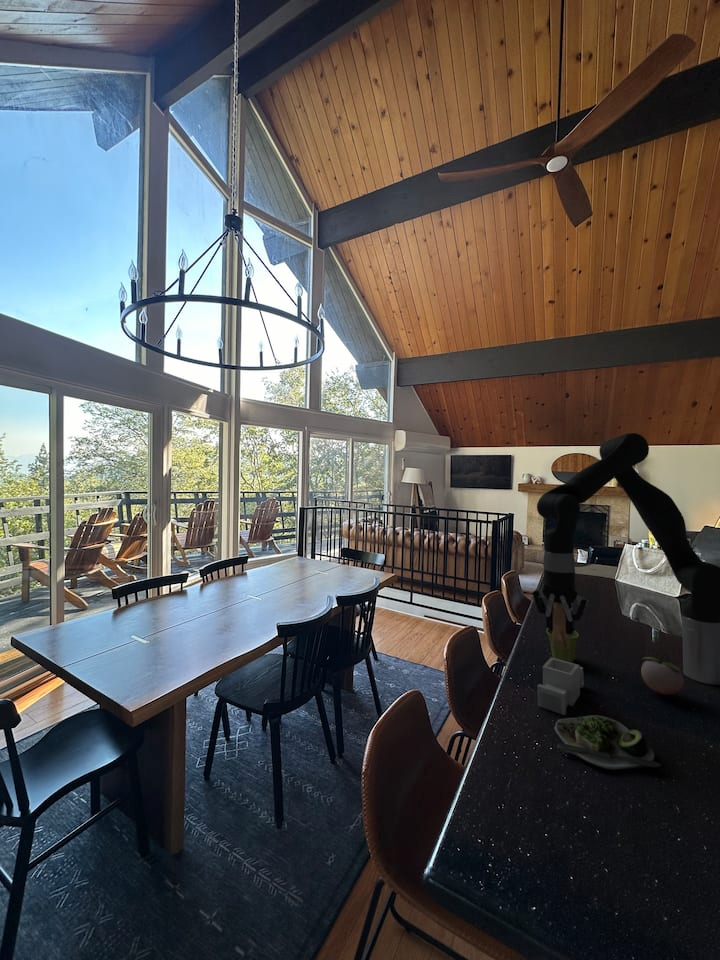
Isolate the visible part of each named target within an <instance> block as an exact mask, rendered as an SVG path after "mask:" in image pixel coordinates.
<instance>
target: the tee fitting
mask: <svg viewBox="0 0 720 960" xmlns="http://www.w3.org/2000/svg"><path fill="white" fill-rule="evenodd" d="M536 687H537V690H536V691H537V707H540V708H543V709H545V710H549V711H551V712H554V713H556V714H557V713H558V714H559V715H563V716H566V714H567V707H568V706H570V707H573V706H574V705H575V703H576V701H577V700H578V699H579V697H580V695H581V689H583V688H584V667H582V666H580V664H576V663H573V662H566V661H563V660H559V659H555V658H553V657H550V658H549V659H548V660H547V661H546V662H545V663H544V664H543V666H542V684H540V683H539V684H537V686H536Z"/></svg>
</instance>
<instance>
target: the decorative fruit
mask: <svg viewBox="0 0 720 960" xmlns="http://www.w3.org/2000/svg"><path fill="white" fill-rule="evenodd" d="M641 659H642V660H645V661H644V662H643V663H642V664H641V665H642V666H641V668H640V669H641V670H640V672H641V673H640V674H641V678H642V680H643V681H644V683H645V684H646V686H647V687H648V688H650V689H651V690H653V691H655V692H656V693H658V694H660V695H661V696H663V695H667V696H669V695H674V694H677V693H678V692H680V690H682V688H683V686H684V684H685V683H684V682H685V680H684V676H683V675H684V673H683V670H681V669H680V668H679V667H678V666H676V664H674V663H671V662H668V661H667V662H666V661H663V657H662V656H661V657H660V659H658V658H656V657H652V656H645V657H643V658H641Z"/></svg>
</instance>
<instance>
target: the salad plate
mask: <svg viewBox="0 0 720 960" xmlns="http://www.w3.org/2000/svg"><path fill="white" fill-rule="evenodd" d="M553 729H554V732H555V733H556V734H557V736H558V738H559V739H560V740H561V741H562V742H559V743H557V748H558V750H561V751H563V752H567V753H570V754H572V755H574V756H575V757H577V758H580V759H582V760H584V761H585V762H587V763H589V764H591V765H593V766H597V767H599V768H601V769H605V770H614V771H616V770H625V769H626V770H627V769H641V768H643V769H644V768H660V767H661V766H662V764H661V763H659V762H656V760H655V757H656V755H655V752H654V750H653V749H652V747H650V745H648V743H647V742H646V741H647V740H646V738H645V736H644V734H643V733H642V732H641V731H640V730H638V729H632V728H631V729H628V727H626V726H625V725H624V724H622V723H621V722H619V721H618V720H615V719H613V718H610V717H606V716H604V715H595V714H594V715H593V714H592V715H585V716H577V717H565V718H561V719H558V720H557V721H556V722H555V726H554V727H553ZM574 730H575V731H574ZM573 731H574V733H575V735H574V736H575V738H572V736H571V733H572V732H573Z"/></svg>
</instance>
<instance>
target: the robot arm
mask: <svg viewBox="0 0 720 960" xmlns="http://www.w3.org/2000/svg"><path fill="white" fill-rule="evenodd" d="M598 451H599V455H600V456H599V457H600V460H597V461H596V462H594V463H592V464H590V465H588V466H587V467H585V468H584V469H581V470H580V471H579V472H577V473H575V475H573V476H572V477H571V478H569V480H568V481H566V482H564V483H563V484H559V486H557V487H556V486H555V487H554V488H552V489H550V490H548V491H546V492H545V493H543V495H541V496H540V498H539V499H538V501H537V503H536V510H537V513H538V514H539V516H540V517H542V518H544V519H547V520H553V521H554V520H555V521H557V523H556V527H554V528H549V529H546V530H545V531H544V536H543V537H544V538H543V541H544V542H543V543H544V548H543V549H544V553H543V566H542V567H543V587H542V589H535V590H533V591H532V596H533V598H534V601H535V604H536V607H537V610H538V613H540V614H543V615H545V617H546V618H545V621H546V629H548V628H549V631H552V606H553V602H554V601H555V602H561V603H562V604H563V608H564V611H565V613H566V616H567V619H568V620H567V635H571V634H572V633H573V632H574V631H576V628H575V627H576V626H575V621H577V622H579V621H580V620H582V618H583V616H584V613H585V611H586V608H587V606H588V604H589V601H590V600H589V598H588V597H583V596H582V595H581V596H580V595H578V592H577V590H576V560H575V555H574V553H575V552H574V548H575V547H574V536H575V533H576V529H577V525H578V521H579V517H580V513H581V504H583V503H586V502H587V501H588V500H589V499H590V498H592V497H593V496H594V495H595V494H596V493H597V492H599V491H600V490H601V489H602V488H603V487H604V486H606V485H607V484H608V483H610V482H611V481H612V480H614V479H615V480H616V482H617V483H618V484H619V485H620V487H621V488H622V489H623V491H624V493H625V494H626V496H627V497H628V498H629V500H630V502H631V503H632V505H633V506H634V508H635V510H636V511H637V513H638V515H639V516H640V518H641V519H642V522H643V523H644V525H645V526H646V527H647V529H648V530H649V533H650V534H651V535H652V537H653V538H654V540H655V541H656V544H658V546H659V547H660V549H661V551H662V552H663V554H664V556H665V557H666V560H667V562H668V564H669V566H670V568H671V571H672V573H673V575H674V577H675V578H676V580H677V581H678V583H679V584H680V585H681V586H682V587H683V588H685V589H687V590H688V591H690V602H686V603H684V604H683V605H682V608H681V615H682V616H681V617H682V618H681V619H682V620H681V621H682V622H681V623H682V624H681V625H682V628H681V629H682V662H683V663H682V673H683V675H684V676H686V677H688V678H689V679H691V680H693V681H696V682H699V683H703V684H707V685H713V686H714V685H715V686H717V685H718V686H720V566H718V565H715V564H713V563H709V562H706V561H703V560H702V559H701V558H700V556H698V555H697V553H696V552H695V550H694V548H693V547H692V545H691V544H690V543H689V540H688V536H687V527H686V520H685V518H684V516H683V513H682V512H681V511H680V508H678V506H677V504H676V503H675V501H674V499H673V498H672V497H671V496H670V495H669V494H668V493H667V492H665V491H664V490H662V489H660V488H659V487H657V486H655V485H653V484H652V483H650V482H648V480H645V479H644V478H643V477H642V476H641V475H640V474H639V473H638V472H637V470H636V469H635V467H634V466H636V465H638V464H640V463H641V462H643V461H644V460H645V459H646V458H647V457H648V455H649V453H650V447H649V443H648V441H647V440H646V438H645V437H644V436H643V435H641V434H639V433H636V432H630V433H629V432H628V433H624V434H621V435H620V436H616V437H614V438H613V437H612V438H611V439H608V440H606V441H604V442H602V443H601V444H600V447H599V450H598ZM544 596H545V598H546V599H547V601H548V602H547V605H545V602H544V599H543V597H544ZM575 600H576V602H577V605H578V608H577V611H576V613H575V611H574V607H573V606H574V605H573V602H574V601H575Z"/></svg>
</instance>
